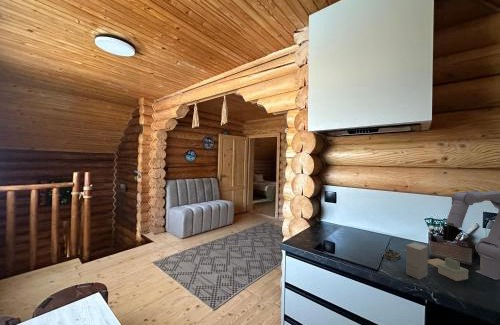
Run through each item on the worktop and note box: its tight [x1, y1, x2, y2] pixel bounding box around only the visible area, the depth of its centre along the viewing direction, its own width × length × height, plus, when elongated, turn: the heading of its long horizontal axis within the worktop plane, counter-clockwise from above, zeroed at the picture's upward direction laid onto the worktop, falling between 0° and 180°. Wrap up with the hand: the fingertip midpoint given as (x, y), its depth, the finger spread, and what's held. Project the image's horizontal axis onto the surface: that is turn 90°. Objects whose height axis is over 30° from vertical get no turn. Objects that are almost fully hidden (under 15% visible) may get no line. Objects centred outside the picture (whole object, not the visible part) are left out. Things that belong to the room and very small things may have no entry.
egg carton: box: [382, 247, 402, 262], centre depth 128 cm, size 11×8×4 cm
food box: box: [437, 267, 469, 282], centre depth 108 cm, size 8×8×4 cm
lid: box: [437, 257, 469, 274], centre depth 108 cm, size 9×9×5 cm
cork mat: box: [428, 257, 445, 269], centre depth 119 cm, size 11×11×1 cm
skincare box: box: [405, 241, 429, 280], centre depth 108 cm, size 8×7×16 cm
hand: (447, 240), depth 105 cm, fingers open, 7 cm apart
